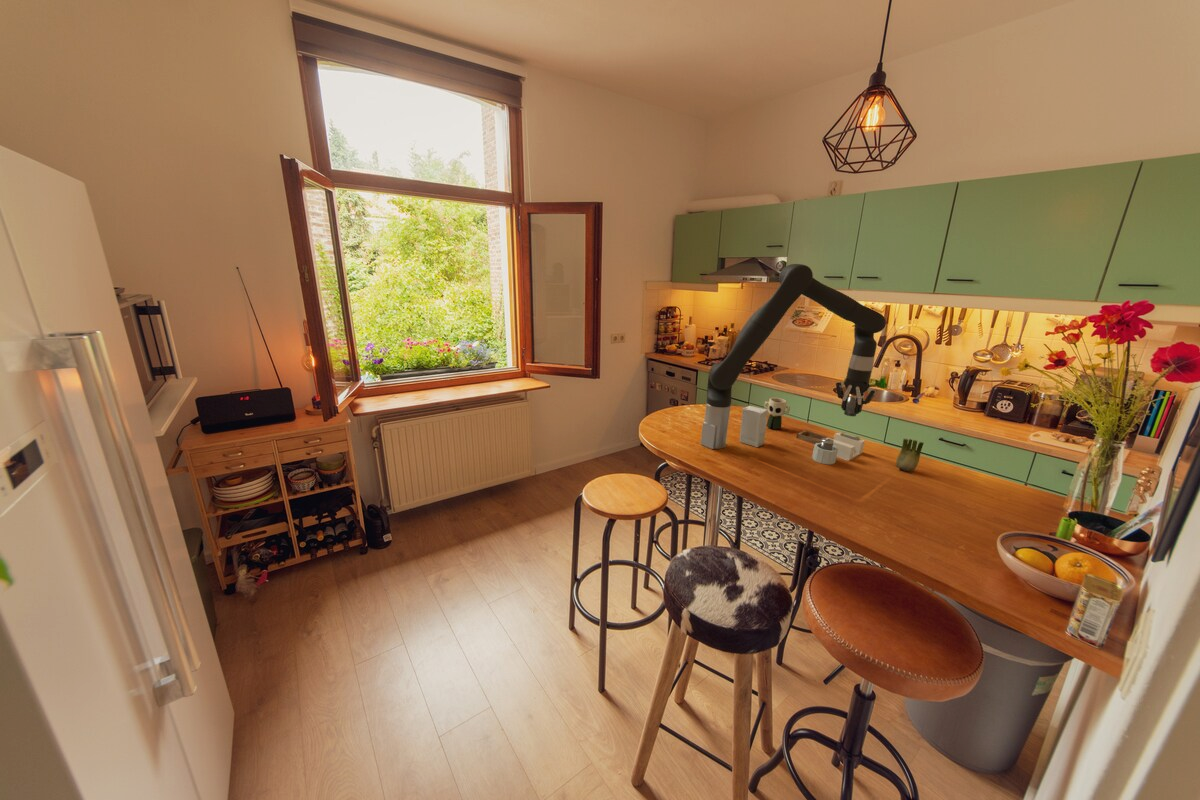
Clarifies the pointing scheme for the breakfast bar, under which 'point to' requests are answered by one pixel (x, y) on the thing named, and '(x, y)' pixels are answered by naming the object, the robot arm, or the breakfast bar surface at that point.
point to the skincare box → (753, 426)
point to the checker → (848, 445)
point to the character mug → (776, 412)
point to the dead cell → (826, 444)
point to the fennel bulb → (909, 455)
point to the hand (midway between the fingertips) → (850, 411)
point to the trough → (810, 437)
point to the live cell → (851, 405)
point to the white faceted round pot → (824, 454)
